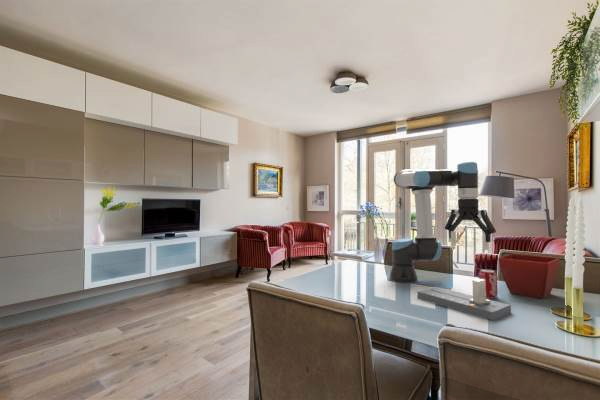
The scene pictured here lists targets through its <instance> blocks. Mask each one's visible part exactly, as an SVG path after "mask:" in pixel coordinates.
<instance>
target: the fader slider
mask: <svg viewBox="0 0 600 400" xmlns="http://www.w3.org/2000/svg"><path fill="white" fill-rule="evenodd" d="M472 296H473V299H470V300H469V302H470V303H474V304H478V305H482V306H483V305H485V304H488V303H490V300H491V299H489V300H487V299H488V298H486V286H485V280H484V279H479V278H477V279H476V278H475V279H474V280H472Z"/></svg>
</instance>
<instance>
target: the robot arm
mask: <svg viewBox="0 0 600 400" xmlns="http://www.w3.org/2000/svg"><path fill="white" fill-rule="evenodd" d="M393 183H394V185H395V186H396V187H398V188H400V189H403V190H410V189H411V193H412V194H413V195H414V204H415V218H416V219H415V221H416V232H417V233H416V236H415V237H414V238H399V239H398V238H397V239H395V240H393V241H392V243H391V244H392V245H391V251H392V252H391V253H392V254H391V255H392V256H391V257H392V267H391V270H390V273H389V279H390V280H391V279H392V280H391V281H393V280H395V281H394V282H397V281H399V282H398V283H406V282H409V283H416V282H418V281H419V280H418V275H417V271H416V269H415V266H414V265H415V263H414V262H433V261H434V262H435V261H438V260H439V259H440V258H441V255H442V250H443V249H442V244H441V241H439V240H438V239H437V236H435V234H434V229H433V227H434V226H433V213H432V203H431V201H432V200H431V193H432V192H433V191H434V189H435V187H457V198H458V200H457V206H458V209H451V210H450V211H451V212H450V215H449V218H448V220H447V222H446V223H445V226H444V230H447V231H448V237H449V238H448V239H450V246H451V247H456V246H457V231H455V230H456V229H457V227H458V226H459V225H460V224H461V223H462V222H463V221H473V222H474V223H476V225H477V226H478V227H479V228H480V230H482V232H483V233H484V234H483V233H482V251H489V249H490V248H489V243H491V241H492V238H491V237H492V236H491V235H492V234H495V233H496V231H497V230H496V228H495V227H494V225H493V223H492V221H491V220H490V218H489V216H488V211H487V210H486V209H481V210H479V199H478V198H479V169H478V163H477V162H475V161H466V162H459V163H458V164H457V165H456V169H428V168H426V169H425V168H422V169H421V168H418V169H417V168H416V169H415V168H413V169H402V170H399V171H397V172H396V173H395V174H394V176H393ZM479 215H480V216H481V218H482V220H483V221H482V220H481V218H480V217H479ZM457 216H458V217H457ZM456 217H457V218H456ZM455 219H456V220H455Z"/></svg>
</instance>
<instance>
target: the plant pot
mask: <svg viewBox="0 0 600 400" xmlns="http://www.w3.org/2000/svg"><path fill="white" fill-rule="evenodd" d="M497 259H498V263H499V267H500V268H499V269H500V271H501V276H502V277H503V280H504V283H505V285H506V288H507V290H508V292H509V293H511V294H517V295H520V296H521V295H522V296H526V297H532V298H537V299H544V298H546V297H547V296H549V295H550V294H551V293H552V291H553V287H554V285H555V282H556V279H557V274H558V270H559V263H560V258H559V257H548V256H541V255H530V254H529V255H528V254H517V253H510V254H507V255H504V256H499V257H498V258H497Z"/></svg>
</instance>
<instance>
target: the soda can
mask: <svg viewBox="0 0 600 400" xmlns="http://www.w3.org/2000/svg"><path fill="white" fill-rule="evenodd" d="M478 279H484V280H485V286H486V299H496V297H498V275H497V274H496V271H495V270H494V269H485V268H482V269H480V270H479V273H478Z"/></svg>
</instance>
